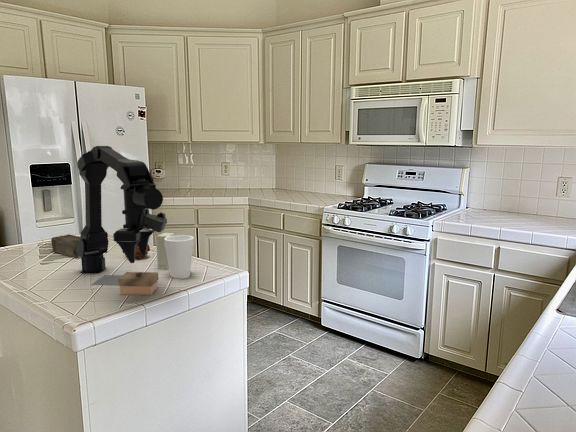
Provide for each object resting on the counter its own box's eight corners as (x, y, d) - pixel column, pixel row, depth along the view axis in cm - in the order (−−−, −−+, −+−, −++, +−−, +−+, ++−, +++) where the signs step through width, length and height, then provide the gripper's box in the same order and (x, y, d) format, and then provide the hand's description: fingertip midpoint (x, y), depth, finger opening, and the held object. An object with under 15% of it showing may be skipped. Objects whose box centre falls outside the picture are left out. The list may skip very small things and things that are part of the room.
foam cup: (167, 281, 138) (166, 242, 136) (163, 273, 146) (162, 236, 144) (197, 278, 142) (196, 239, 139) (191, 270, 150) (190, 234, 148)
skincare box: (168, 271, 149) (167, 236, 147) (157, 270, 150) (155, 236, 148) (177, 266, 156) (175, 232, 154) (165, 265, 156) (164, 232, 154)
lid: (118, 286, 125) (118, 276, 124) (127, 279, 131) (126, 269, 131) (151, 286, 125) (150, 276, 124) (158, 279, 131) (158, 269, 130)
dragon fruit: (146, 264, 163) (127, 264, 170) (159, 247, 168) (140, 247, 175) (132, 249, 158) (113, 249, 165) (146, 232, 163) (127, 233, 170)
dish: (120, 295, 125) (119, 285, 125) (128, 288, 131) (127, 279, 131) (151, 296, 125) (150, 286, 125) (157, 289, 131) (157, 279, 131)
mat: (90, 286, 133) (90, 285, 133) (104, 276, 143) (104, 275, 143) (129, 286, 133) (129, 285, 133) (140, 276, 143) (140, 275, 143)
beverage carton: (77, 259, 164) (76, 242, 163) (51, 252, 174) (49, 236, 173) (97, 255, 170) (95, 239, 169) (70, 248, 181) (69, 233, 180)
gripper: (152, 211, 115) (155, 268, 117) (172, 201, 133) (174, 251, 136) (110, 210, 115) (114, 267, 117) (136, 201, 133) (138, 250, 136)
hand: (138, 258), depth 126 cm, fingers open, 9 cm apart
